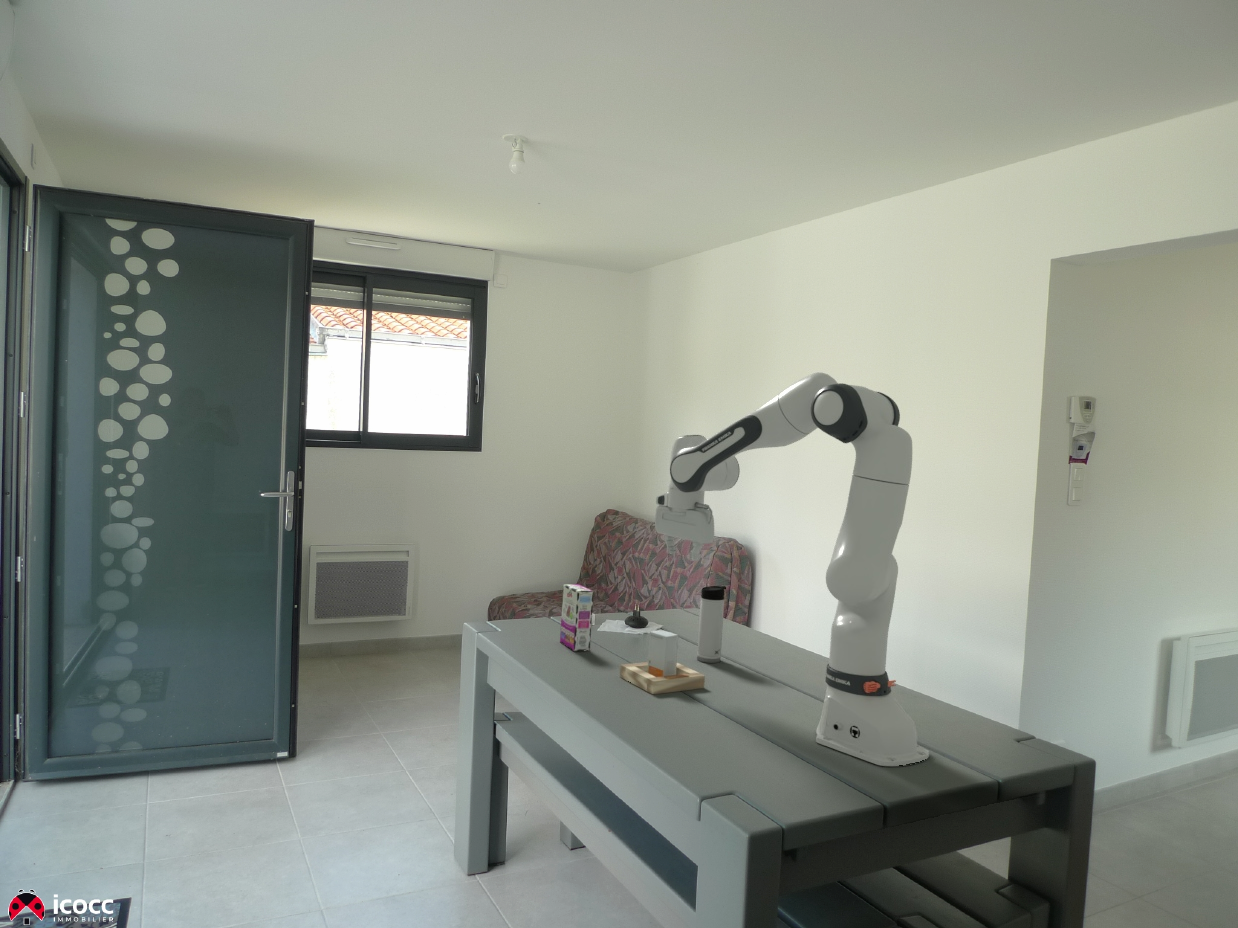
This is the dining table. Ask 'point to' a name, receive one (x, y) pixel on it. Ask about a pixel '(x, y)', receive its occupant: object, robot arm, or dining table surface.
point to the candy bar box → (576, 617)
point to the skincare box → (662, 653)
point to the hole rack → (662, 678)
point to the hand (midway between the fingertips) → (682, 556)
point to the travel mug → (711, 624)
